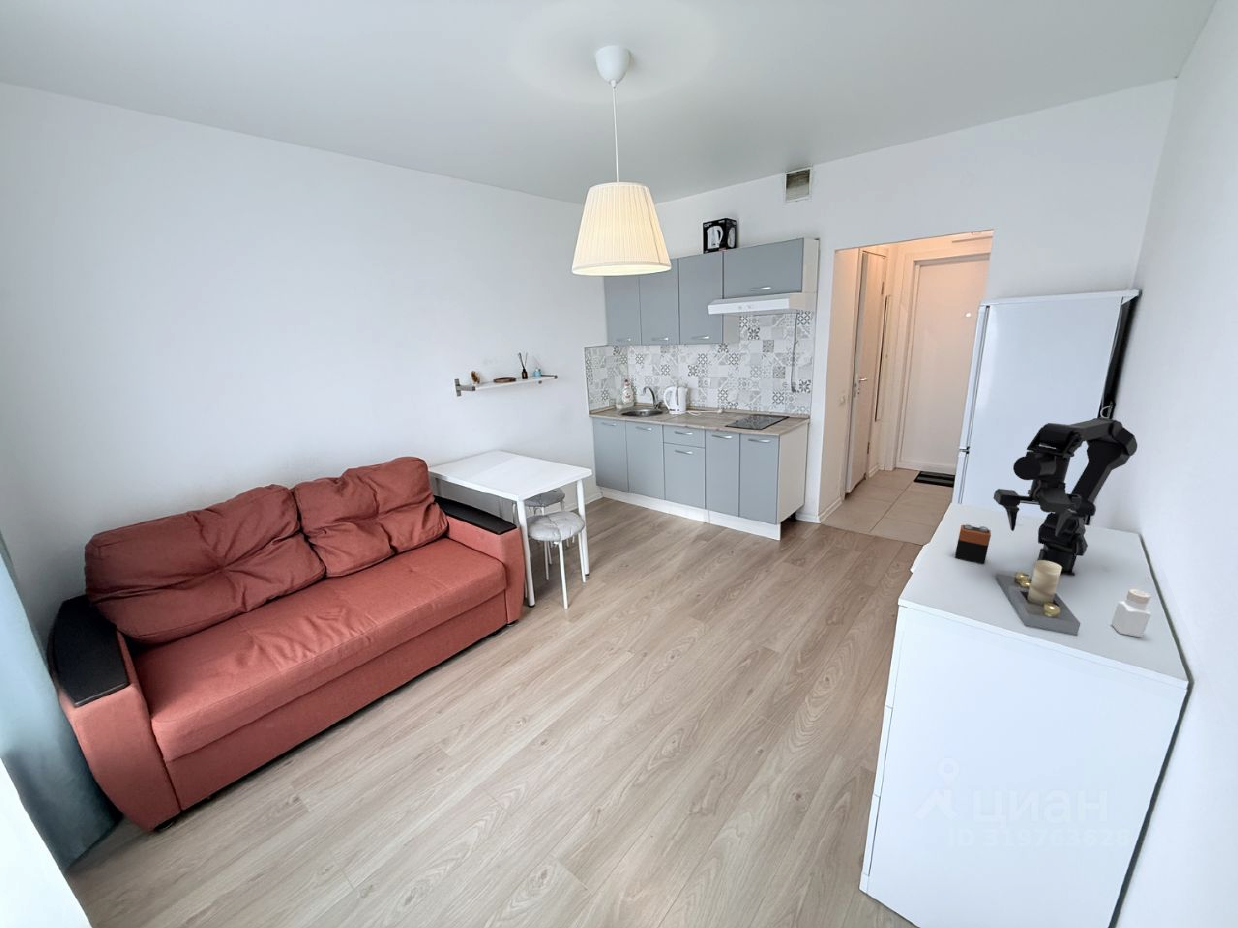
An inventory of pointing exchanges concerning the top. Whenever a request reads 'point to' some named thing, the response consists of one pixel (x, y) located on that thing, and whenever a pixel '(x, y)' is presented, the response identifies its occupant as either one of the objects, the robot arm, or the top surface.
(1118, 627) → the salt shaker
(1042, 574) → the pin
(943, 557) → the top surface
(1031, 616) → the mounting plate
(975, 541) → the battery
